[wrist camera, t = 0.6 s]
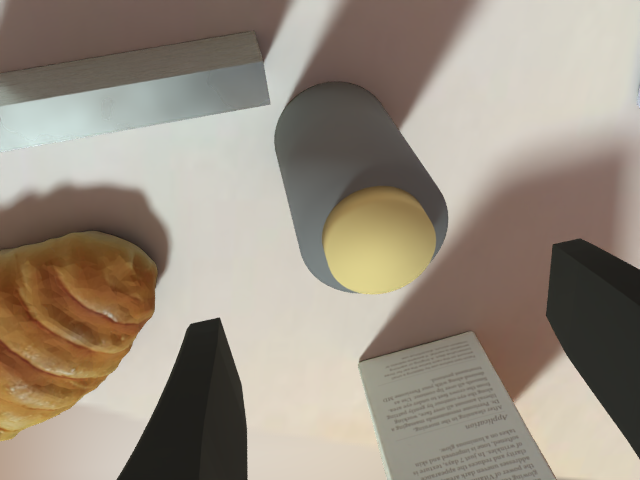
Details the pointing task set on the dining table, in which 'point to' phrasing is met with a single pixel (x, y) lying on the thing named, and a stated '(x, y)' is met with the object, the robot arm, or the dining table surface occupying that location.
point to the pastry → (67, 321)
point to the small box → (448, 416)
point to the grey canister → (356, 191)
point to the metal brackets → (131, 90)
